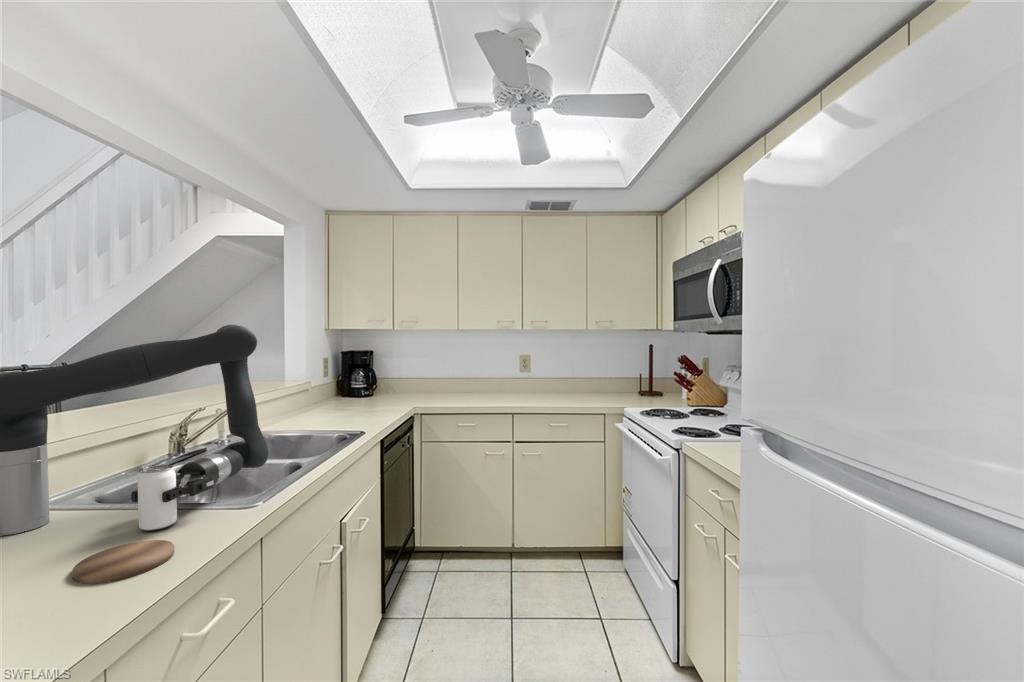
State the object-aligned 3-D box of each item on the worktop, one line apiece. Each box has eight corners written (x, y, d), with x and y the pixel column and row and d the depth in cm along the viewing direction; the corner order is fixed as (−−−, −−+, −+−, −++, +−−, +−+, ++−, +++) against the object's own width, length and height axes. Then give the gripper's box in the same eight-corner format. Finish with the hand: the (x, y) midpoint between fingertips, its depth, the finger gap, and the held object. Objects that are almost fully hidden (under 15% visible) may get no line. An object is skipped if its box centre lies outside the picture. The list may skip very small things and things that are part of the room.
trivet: (50, 578, 79) (50, 572, 79) (134, 542, 92) (134, 537, 92) (116, 587, 76) (116, 581, 76) (193, 548, 89) (192, 543, 89)
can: (156, 532, 96) (154, 473, 95) (130, 529, 97) (128, 472, 97) (184, 519, 102) (183, 464, 102) (160, 517, 103) (158, 463, 103)
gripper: (176, 457, 114) (114, 479, 97) (233, 457, 113) (181, 479, 97) (177, 488, 114) (115, 515, 97) (234, 488, 113) (182, 516, 97)
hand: (148, 497), depth 97 cm, fingers closed on can, 6 cm apart
